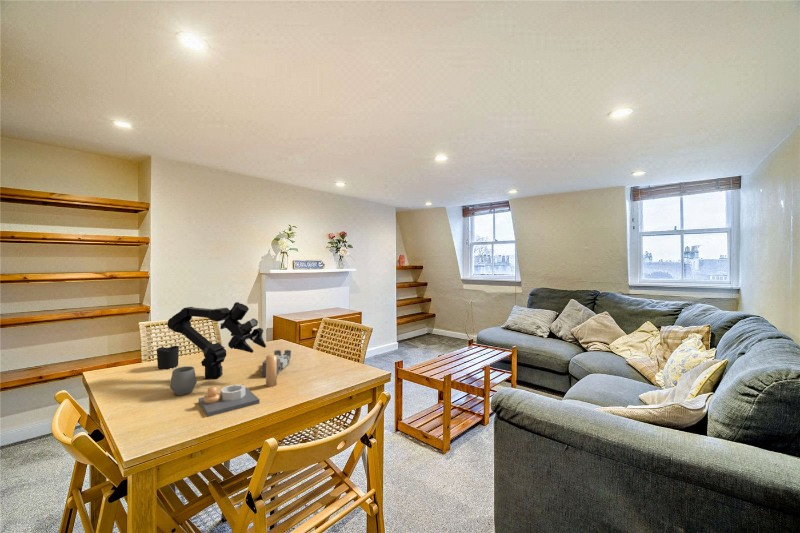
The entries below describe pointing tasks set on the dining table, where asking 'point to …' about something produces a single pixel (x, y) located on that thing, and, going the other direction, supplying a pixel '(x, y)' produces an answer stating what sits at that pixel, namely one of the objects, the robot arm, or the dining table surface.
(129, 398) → the dining table surface
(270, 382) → the tan peg
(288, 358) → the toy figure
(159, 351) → the pen holder
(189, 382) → the cup
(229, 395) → the octagonal socket plate
